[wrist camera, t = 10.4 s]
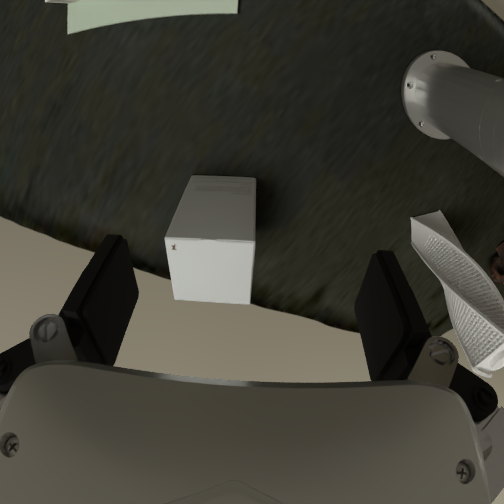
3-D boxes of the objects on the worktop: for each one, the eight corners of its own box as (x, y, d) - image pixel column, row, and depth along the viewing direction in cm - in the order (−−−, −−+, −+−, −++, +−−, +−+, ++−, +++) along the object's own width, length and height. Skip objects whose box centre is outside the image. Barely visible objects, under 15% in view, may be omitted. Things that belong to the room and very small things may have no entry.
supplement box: (193, 229, 47) (171, 301, 35) (190, 173, 42) (161, 236, 30) (254, 232, 47) (251, 307, 35) (258, 176, 42) (255, 242, 30)
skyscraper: (447, 202, 42) (545, 342, 20) (445, 239, 46) (522, 377, 24) (404, 212, 44) (489, 369, 22) (405, 250, 48) (470, 401, 26)
